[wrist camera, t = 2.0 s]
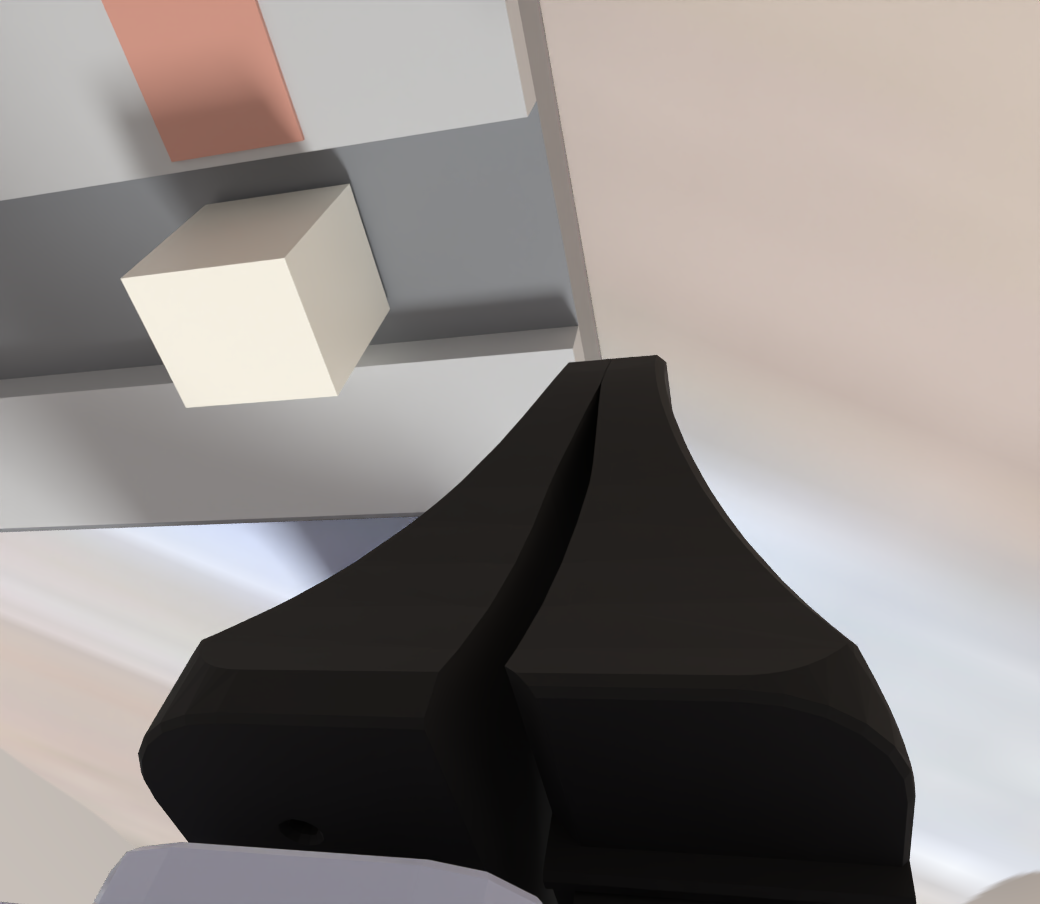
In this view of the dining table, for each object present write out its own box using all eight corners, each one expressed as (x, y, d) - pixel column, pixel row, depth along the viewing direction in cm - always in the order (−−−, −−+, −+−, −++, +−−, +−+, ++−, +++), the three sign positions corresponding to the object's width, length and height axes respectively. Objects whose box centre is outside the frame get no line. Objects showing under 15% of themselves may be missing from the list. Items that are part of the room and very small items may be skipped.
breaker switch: (390, 309, 21) (337, 395, 18) (256, 323, 21) (186, 407, 19) (349, 183, 19) (284, 258, 16) (205, 204, 20) (120, 278, 17)
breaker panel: (619, 462, 25) (608, 537, 22) (-60, 497, 31) (-125, 559, 29) (495, -252, 16) (453, -254, 13) (-433, 3, 22) (-575, 33, 20)
